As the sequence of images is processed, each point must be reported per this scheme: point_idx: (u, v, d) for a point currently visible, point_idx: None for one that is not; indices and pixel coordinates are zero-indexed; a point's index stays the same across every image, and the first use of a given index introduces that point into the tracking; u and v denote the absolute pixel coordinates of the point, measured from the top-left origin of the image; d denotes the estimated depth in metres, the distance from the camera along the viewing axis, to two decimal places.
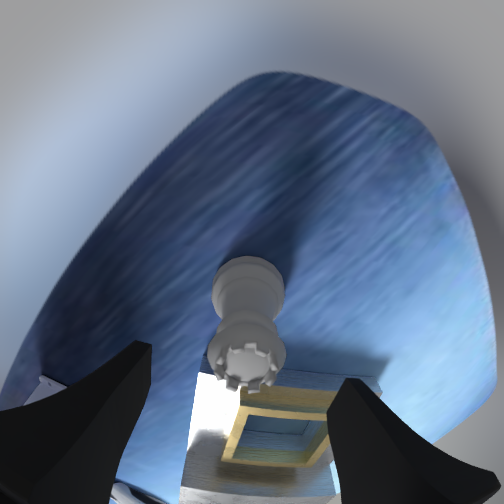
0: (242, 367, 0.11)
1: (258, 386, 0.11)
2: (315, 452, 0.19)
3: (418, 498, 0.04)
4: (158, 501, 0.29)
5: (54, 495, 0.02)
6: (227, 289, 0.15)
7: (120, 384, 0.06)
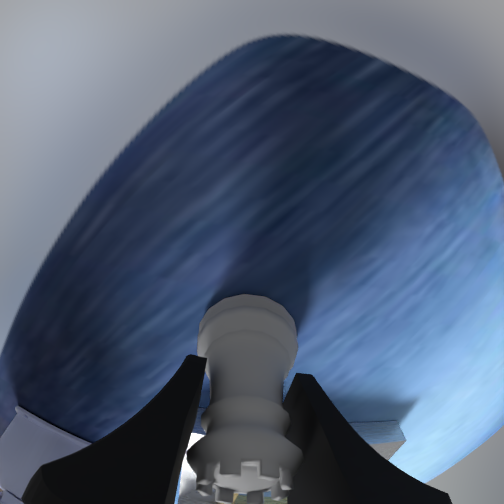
0: (238, 482, 0.06)
1: (261, 498, 0.06)
2: None
3: None
4: None
5: None
6: (218, 347, 0.10)
7: (191, 404, 0.06)
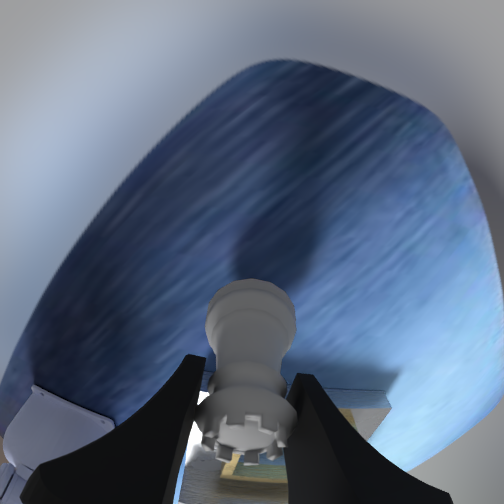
0: (239, 439, 0.07)
1: (257, 458, 0.07)
2: None
3: None
4: None
5: None
6: (226, 322, 0.12)
7: (189, 403, 0.06)
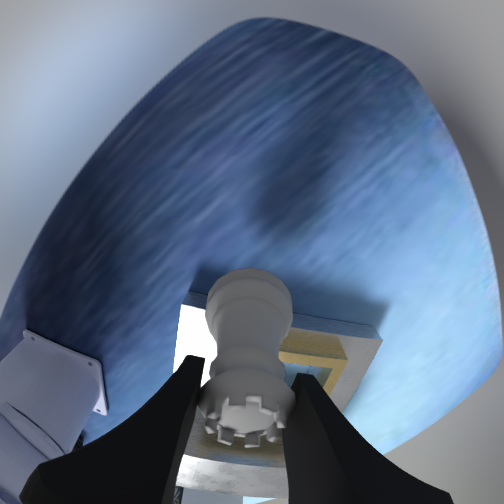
0: (240, 420, 0.08)
1: (257, 440, 0.08)
2: None
3: None
4: None
5: None
6: (226, 310, 0.12)
7: (189, 403, 0.06)
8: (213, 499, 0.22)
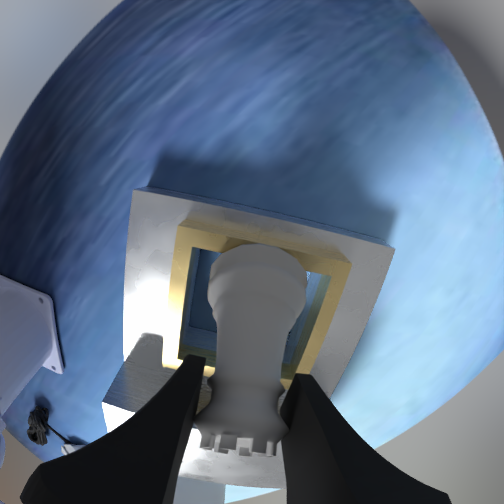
0: None
1: (250, 452, 0.08)
2: (305, 353, 0.14)
3: None
4: None
5: None
6: (227, 305, 0.11)
7: (190, 403, 0.06)
8: (187, 489, 0.18)
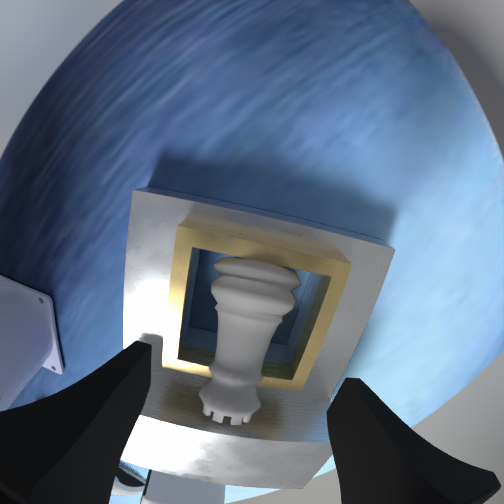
0: None
1: None
2: (304, 354, 0.14)
3: (419, 498, 0.04)
4: (132, 474, 0.25)
5: (54, 495, 0.02)
6: (224, 316, 0.13)
7: (120, 384, 0.06)
8: (187, 489, 0.18)
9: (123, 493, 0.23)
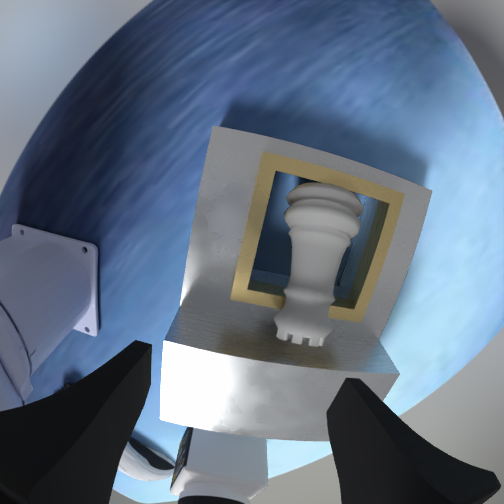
0: None
1: (306, 337, 0.15)
2: (366, 279, 0.15)
3: (418, 498, 0.04)
4: (162, 457, 0.26)
5: (54, 495, 0.02)
6: (302, 235, 0.14)
7: (120, 384, 0.06)
8: (229, 457, 0.19)
9: (152, 478, 0.24)
